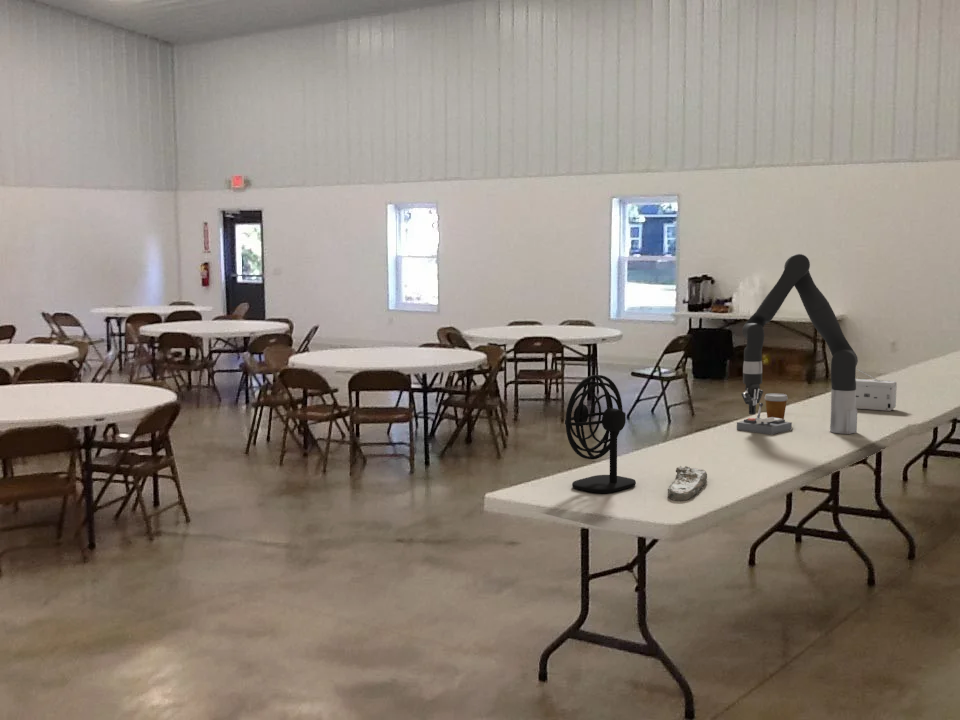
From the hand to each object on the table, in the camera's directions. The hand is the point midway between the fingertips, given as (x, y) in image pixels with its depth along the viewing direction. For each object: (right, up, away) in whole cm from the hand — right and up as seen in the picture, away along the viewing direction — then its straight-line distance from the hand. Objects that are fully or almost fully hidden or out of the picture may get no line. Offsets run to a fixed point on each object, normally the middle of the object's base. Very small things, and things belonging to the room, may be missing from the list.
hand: (752, 414), depth 415 cm
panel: (+5, -6, 0) cm, 8 cm away
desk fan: (-72, -18, -94) cm, 120 cm away
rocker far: (+4, -2, -5) cm, 7 cm away
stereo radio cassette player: (+67, 0, +49) cm, 83 cm away
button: (0, -3, +1) cm, 3 cm away
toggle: (+4, -2, +8) cm, 9 cm away
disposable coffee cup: (+14, -5, +15) cm, 21 cm away
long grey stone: (-46, -18, -97) cm, 109 cm away
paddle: (+9, -3, 0) cm, 10 cm away
